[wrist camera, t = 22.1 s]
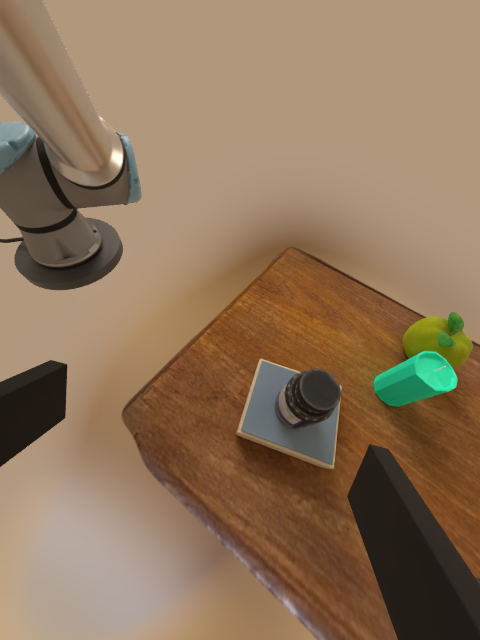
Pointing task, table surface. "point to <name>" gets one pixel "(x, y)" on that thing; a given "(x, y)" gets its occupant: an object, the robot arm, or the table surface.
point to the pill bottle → (307, 399)
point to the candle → (415, 379)
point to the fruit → (439, 339)
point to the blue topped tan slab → (271, 432)
